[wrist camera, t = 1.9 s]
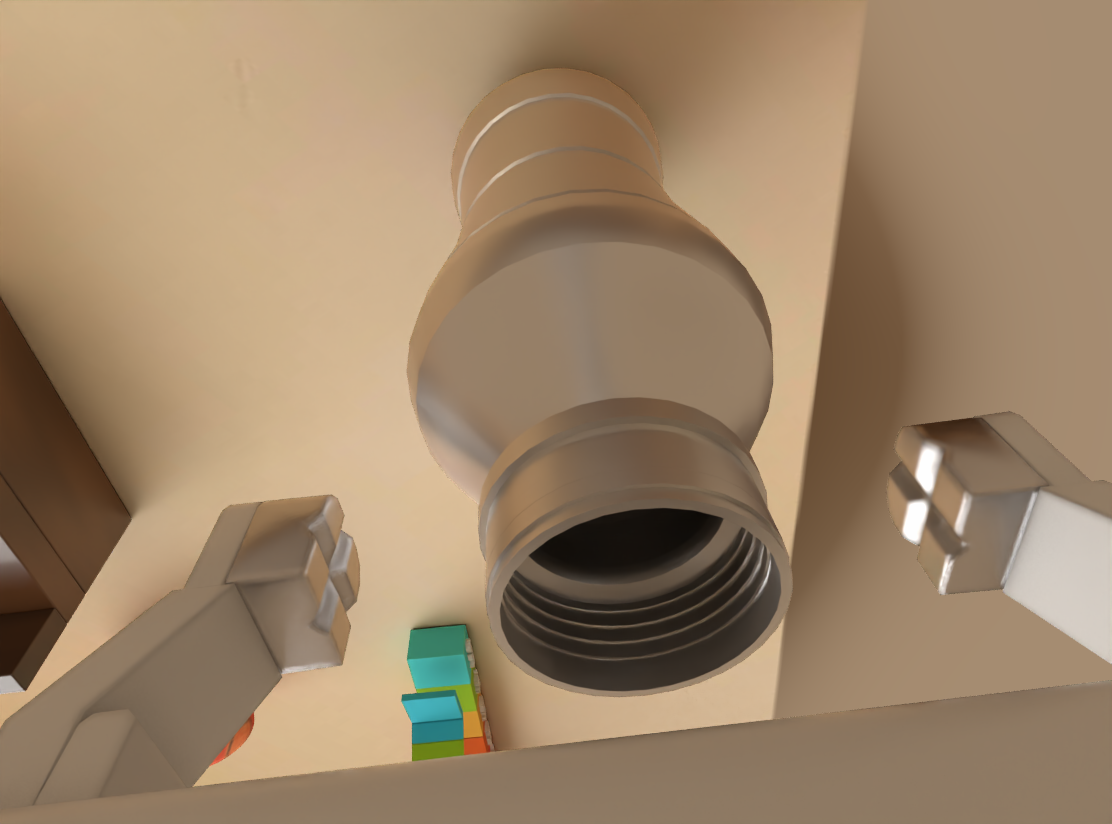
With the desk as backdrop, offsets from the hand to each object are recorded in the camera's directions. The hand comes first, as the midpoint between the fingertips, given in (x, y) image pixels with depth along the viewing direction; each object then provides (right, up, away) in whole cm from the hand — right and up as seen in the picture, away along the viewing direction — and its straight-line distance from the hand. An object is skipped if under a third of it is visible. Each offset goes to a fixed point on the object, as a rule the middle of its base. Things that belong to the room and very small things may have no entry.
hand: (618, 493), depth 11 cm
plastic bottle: (-1, +10, +15) cm, 18 cm away
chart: (-6, -23, +37) cm, 44 cm away
